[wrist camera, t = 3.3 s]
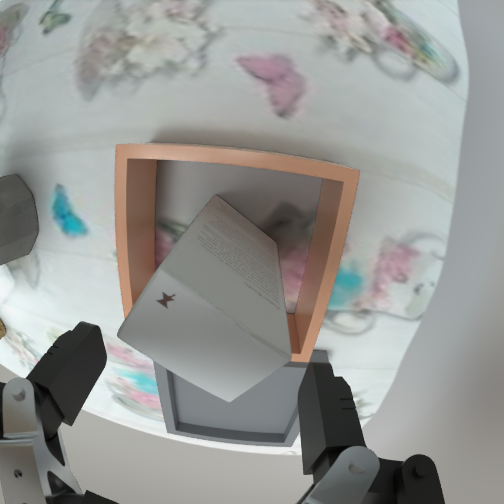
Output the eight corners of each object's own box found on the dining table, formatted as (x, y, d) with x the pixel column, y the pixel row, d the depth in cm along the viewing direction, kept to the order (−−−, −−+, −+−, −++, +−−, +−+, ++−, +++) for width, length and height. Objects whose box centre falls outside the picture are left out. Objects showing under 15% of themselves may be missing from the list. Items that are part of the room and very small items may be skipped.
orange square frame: (148, 142, 18) (116, 144, 13) (336, 163, 18) (360, 170, 14) (149, 302, 23) (127, 336, 19) (301, 322, 23) (308, 362, 19)
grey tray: (159, 330, 24) (151, 347, 22) (325, 350, 25) (330, 368, 22) (171, 418, 31) (167, 432, 28) (290, 431, 31) (291, 446, 29)
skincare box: (182, 235, 21) (110, 335, 10) (215, 192, 19) (157, 262, 8) (243, 282, 22) (229, 406, 11) (279, 243, 21) (297, 358, 10)
